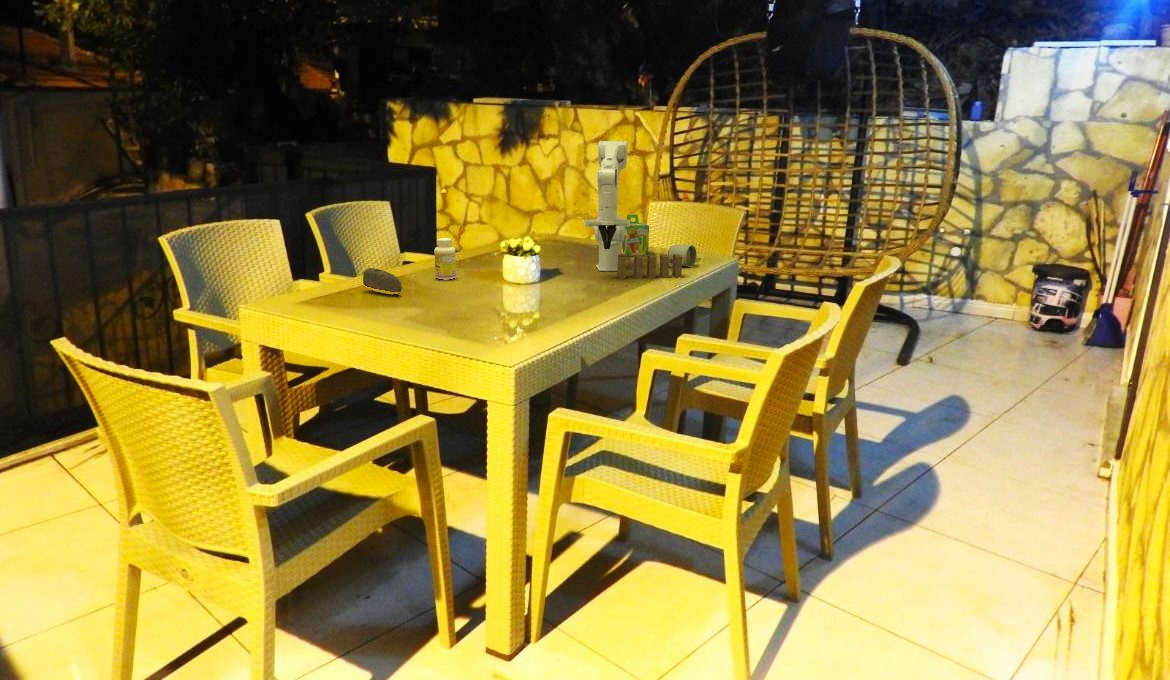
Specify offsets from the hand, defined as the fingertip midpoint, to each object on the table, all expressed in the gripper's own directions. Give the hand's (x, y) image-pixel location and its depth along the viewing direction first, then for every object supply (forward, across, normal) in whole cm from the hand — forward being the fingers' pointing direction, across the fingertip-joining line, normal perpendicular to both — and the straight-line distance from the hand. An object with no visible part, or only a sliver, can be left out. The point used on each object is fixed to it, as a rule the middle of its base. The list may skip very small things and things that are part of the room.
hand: (606, 248), depth 275 cm
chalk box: (+10, +16, +42) cm, 46 cm away
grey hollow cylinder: (+10, +28, +17) cm, 35 cm away
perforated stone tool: (+10, -69, -18) cm, 72 cm away
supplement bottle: (+10, -52, +2) cm, 53 cm away
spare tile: (+9, +5, 0) cm, 11 cm away
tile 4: (+10, +19, 0) cm, 21 cm away
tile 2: (+10, +10, 0) cm, 14 cm away
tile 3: (+10, +15, 0) cm, 18 cm away
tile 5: (+9, +23, 0) cm, 25 cm away
